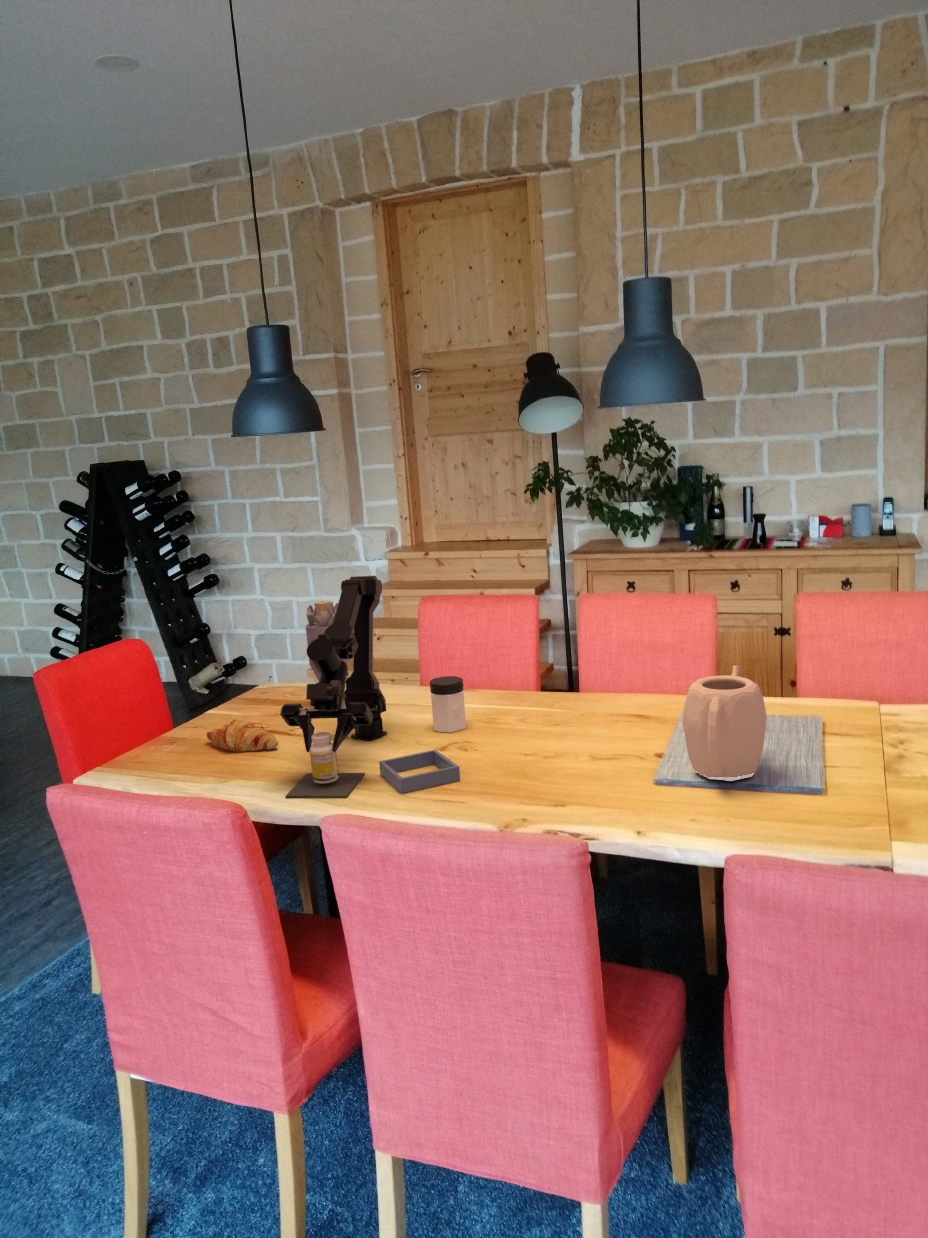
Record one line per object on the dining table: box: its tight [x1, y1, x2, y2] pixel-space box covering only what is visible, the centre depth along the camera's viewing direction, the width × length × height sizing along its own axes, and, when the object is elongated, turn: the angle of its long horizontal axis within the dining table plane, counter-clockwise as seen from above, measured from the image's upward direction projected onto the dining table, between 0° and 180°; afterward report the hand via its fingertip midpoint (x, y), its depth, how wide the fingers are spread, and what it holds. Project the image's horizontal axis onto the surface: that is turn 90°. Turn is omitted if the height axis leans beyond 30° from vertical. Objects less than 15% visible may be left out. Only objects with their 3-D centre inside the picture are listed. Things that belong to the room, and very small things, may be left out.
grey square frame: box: [378, 749, 461, 795], centre depth 195 cm, size 13×13×3 cm
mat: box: [285, 772, 366, 799], centre depth 194 cm, size 13×13×1 cm
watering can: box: [682, 665, 767, 777], centre depth 185 cm, size 16×27×19 cm, turn 154°
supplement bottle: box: [309, 731, 340, 784], centre depth 194 cm, size 5×5×10 cm
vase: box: [305, 600, 349, 709], centre depth 249 cm, size 10×10×30 cm
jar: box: [429, 675, 467, 734], centre depth 227 cm, size 9×8×12 cm
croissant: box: [206, 719, 279, 753], centre depth 225 cm, size 21×10×8 cm, turn 65°
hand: (320, 751), depth 192 cm, fingers closed on supplement bottle, 5 cm apart
